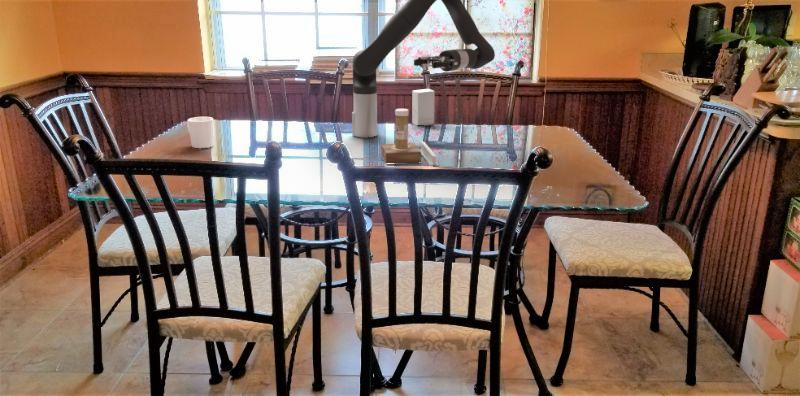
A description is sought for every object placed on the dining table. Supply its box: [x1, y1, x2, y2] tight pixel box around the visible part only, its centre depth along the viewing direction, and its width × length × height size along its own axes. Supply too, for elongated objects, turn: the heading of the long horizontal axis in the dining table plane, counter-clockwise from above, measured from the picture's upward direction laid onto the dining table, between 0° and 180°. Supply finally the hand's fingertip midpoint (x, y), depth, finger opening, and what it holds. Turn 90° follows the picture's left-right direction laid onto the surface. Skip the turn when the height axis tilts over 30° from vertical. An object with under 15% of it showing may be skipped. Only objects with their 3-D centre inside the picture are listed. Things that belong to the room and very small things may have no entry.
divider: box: [419, 141, 440, 167], centre depth 223 cm, size 20×3×4 cm, turn 10°
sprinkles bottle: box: [394, 108, 410, 149], centre depth 218 cm, size 5×5×13 cm
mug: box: [186, 116, 215, 149], centre depth 235 cm, size 11×9×10 cm
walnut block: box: [380, 142, 422, 165], centre depth 221 cm, size 12×12×4 cm
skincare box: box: [411, 88, 436, 126], centre depth 272 cm, size 8×6×15 cm
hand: (423, 63), depth 219 cm, fingers open, 8 cm apart
